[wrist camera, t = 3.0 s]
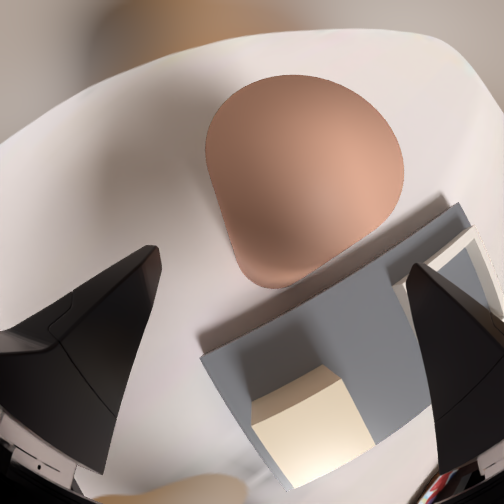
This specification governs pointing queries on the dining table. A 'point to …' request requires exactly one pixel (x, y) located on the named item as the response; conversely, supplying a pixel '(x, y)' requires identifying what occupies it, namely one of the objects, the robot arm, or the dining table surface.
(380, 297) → the base plate
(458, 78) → the dining table surface
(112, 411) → the robot arm
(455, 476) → the chocolate cake
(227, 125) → the pillar
